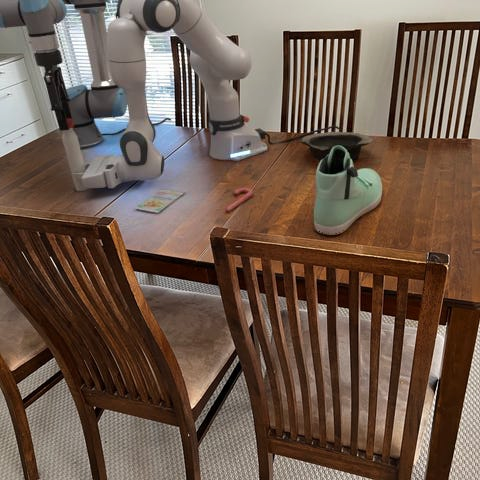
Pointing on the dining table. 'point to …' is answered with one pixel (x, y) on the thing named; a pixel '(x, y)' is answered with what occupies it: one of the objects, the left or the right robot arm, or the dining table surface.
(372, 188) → the sneaker
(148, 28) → the right robot arm
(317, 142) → the stone bowl
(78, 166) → the bottle
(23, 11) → the left robot arm
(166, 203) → the baking ingredient package
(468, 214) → the dining table surface
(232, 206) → the candy cane
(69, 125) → the cap
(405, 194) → the dining table surface
